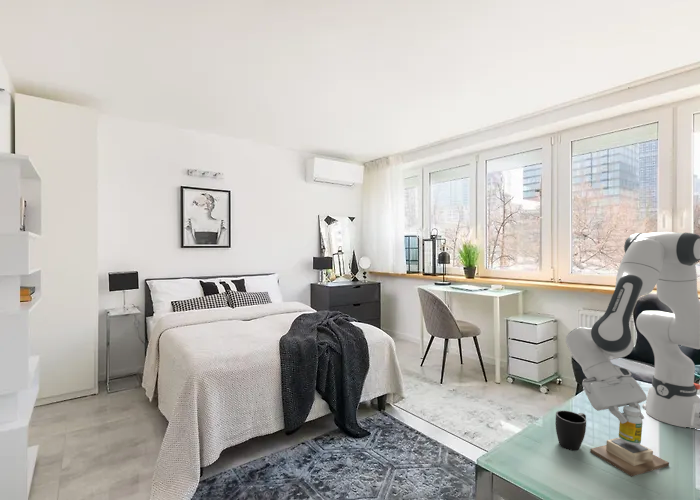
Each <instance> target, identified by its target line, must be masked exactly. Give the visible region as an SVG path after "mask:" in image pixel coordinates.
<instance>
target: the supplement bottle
mask: <svg viewBox="0 0 700 500" xmlns="http://www.w3.org/2000/svg"><path fill="white" fill-rule="evenodd" d="M622 407H623V408H622V409H623V412H621V413H622V414H623V415H626V417H627V419H628V420H629V422H627V423H623V424H622V423H621V422H620V421H619V427H618V428H619V429H618V438H620V439H621V440H622V441H624V442H626V443H629V444H633V445H639V444H641V443H642V431H643V419H641V418H640V417H639V416H640V410H641V409H640V410H639V409H637V408H634V407H630V406H629V405H627V406H622Z"/></svg>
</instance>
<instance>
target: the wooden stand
mask: <svg viewBox="0 0 700 500" xmlns="http://www.w3.org/2000/svg"><path fill="white" fill-rule="evenodd" d="M589 451H590V453H591V454H593V455H595V456H596V457H598V458H600V459H601V460H602V461H604V462H607V463H608V464H610V465H612V466H614V467H615V468H617V469H618V470H620V471H621V472H623V473H625V474H627V475H628V476H630V477H635V476H638V475H643V474H646V473H650V472H652V471H656V470H660V469H662V468H666V467H669V466H670V462H668V461H667V460H665V459H663V458H661V457H659V456H657V455H656V454H654V450H653V449H651V448H649V447H646V446H645V445H643V444H641V443H640V444H639V445H633V444H629V443H626V442H624V441H622V440H621V439H620V438H619V437H615V438H611V439H606V444H604V445H600V446H596V447H592V448H590V450H589Z"/></svg>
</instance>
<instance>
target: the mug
mask: <svg viewBox="0 0 700 500" xmlns="http://www.w3.org/2000/svg"><path fill="white" fill-rule="evenodd" d="M554 422H555V433H556V436H557V440H558V444H559V446H560V447H561V448H562V449H565V450H568V451H571V452H577V451H579V450H580V448H581V445H582V444H583V441H584V439H585V435H586V431H587V415H586V414H585V413H583V412H580V413H576V412H574V411H570V410H558V411H556V412H555V421H554Z"/></svg>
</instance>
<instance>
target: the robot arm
mask: <svg viewBox="0 0 700 500" xmlns="http://www.w3.org/2000/svg"><path fill="white" fill-rule="evenodd" d="M623 250H624V254H623V257H622V259H621V261H620V264H619V267H618V268H617V269H618V270H617V275H616V282H615V286H614V287H615V288H614V291H613V294H612V296H611V298H610V301H609V302H608V303H609V304H608V305H607V309H606V311H605V312H604V314H603V315H602V316H601V317H600V318H598V320H597V321H595V322H594V324H593V325H592V327H584V326H579V327H576V328H574V329H573V330H571V331H569V332H568V334H567V335H566V337H565V343H566V347H568V350H569V352H570V354H571V355H572V357H573V358H574V360H575V362H577V363H578V365H579V366H580V367H581V369H582V372H583V375H584V376H585V378H583V379H582V383H581V384H582V387H583V390H584V392H585V395H586V397H587V398H588V399H587V400H588V401H589V403H590V405H591V407H592V408H593V409H594V410H595V411H596V412H597V411H598V412H599V411H604V410H608V411H609V412H610V413H611V414H612V415H613V416H615V418H617V419H618V421H619V423H620V422H621V423H622V424H623V423H627V422H629V420H628V419H627V417H626V415H623V414H622V413H623V412H621V411H620V409H619V408H620V407H624V406H630V407H634V408H637V409H639V410H640V416H639V417H640V418H641V419H642V420H644V419H645V417H644V414H642V411H641V407H642V408H643V409H644V410H645V413H646V414H647V415H649V416H650V417H652V418H653V419H655V420H657V421H660V422H663V423H665V424H668V425H673V426H675V427H676V426H677V427H680V428H686V427H690V428H689V429H691V428H696V429H700V397H699V396H698V394H697V391H700V384H699V383H695V375H696V365H695V363H694V361H693V360H692V359H691V358H690V357H689V356H687V355H686V354H685V353H684V352H683V351H682V350H681V348H680V346H683V347H688V348H691V349H696V350H700V299H699V291H698V279H697V278H698V277H697V267H696V263H698V262H699V261H700V235H698V234H696V233H693V232H692V233H691V232H676V231H660V232H647V233H646V232H645V233H644V232H638V233H633V234H631V235H630V236H629V237H627V239H625V242H624V247H623ZM654 288H656V296H657V298H658V300H659V301H660V302H661V303H663V305H666V306H667V307H668V308H669V309H670V310H671V311H672V312H667V311H663V310H643V311H642V312H641V313H639V314H638V316H637V318H636V321H635V325H636V328H637V330H638V332H639V333H640V334H641V335H643V336H644V338H645V339H646V340H647V342H648V343H649V345H650V347H651V349H652V352H653V356H654V373H653V374H654V375H653V376H652V379H651V387H649V388H648V390H647V395H646V393H645V391H644V390H643V389H642V387H641V385H640V384H639V383H638V381H637V380H636V379H635V378H634V377H633V376H632V372H631V371H630V370H629V369H628V368H626V367H622V366H618V365H616V364H615V365H614V364H613V362H612V361H611V360H617V359H621V358H625V357H627V356H628V355H630V354H631V353H632V352H633V350H634V345H635V344H634V340H633V337H632V332H631V328H630V320H631V317H632V315H633V313H634V311H635V307H636V305H637V302H638V300H639V299H640V297H641V296H646V295H649V294H651V293H652V291H653V290H654ZM645 401H646V402H645ZM643 402H645V403H643ZM641 403H642V406H640V405H639V404H641Z"/></svg>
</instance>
